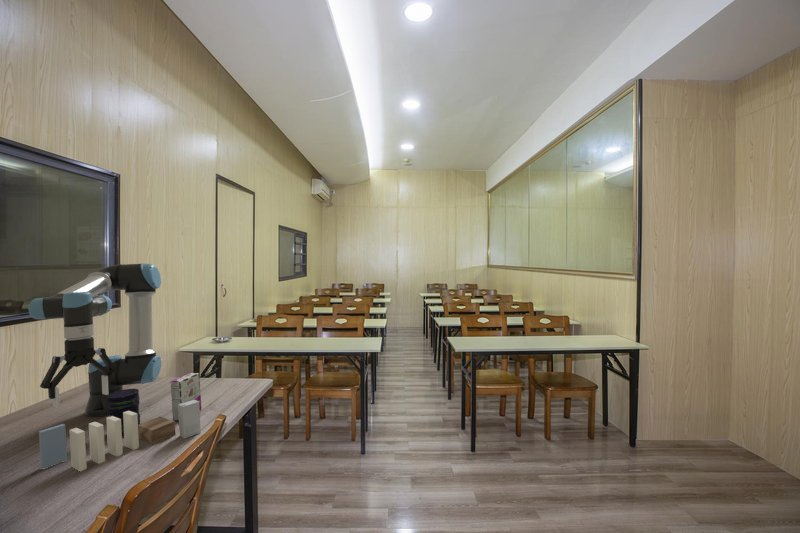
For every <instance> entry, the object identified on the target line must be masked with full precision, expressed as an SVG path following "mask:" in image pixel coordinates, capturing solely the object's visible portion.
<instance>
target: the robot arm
mask: <svg viewBox="0 0 800 533" xmlns="http://www.w3.org/2000/svg"><path fill="white" fill-rule="evenodd" d="M161 283H162V278H161V274H160V271H159V269H158V268H157V266H156V265H155V264H153V263H128V264H127V263H126V264H125V263H124V264H112V265H109V266H105V267H103V268H100V269H98V270H95V271H93V272H91V273H89V274H88V275H87V276H86V278H85V279H83V280H81V281H79V282H77V283H75V284H74V285H71V286H69V287H67V288H66V289H63V290H62V291H59V292H57V293H56V294H53V295H51V296H49V297H40V298H34V299H32V300H31V301H30V303H29V305H28V313H29V316H30V317H31V318H32V319H34V320H46V321H47V320H53V319H54V320H56V319H63V338H64V339H65V340H64V341H63V342H64V355H59V356H58V355H57V356H56V355H54V356H52V359H51V364H50V366H49V368H48V369H47V372H46V373H45V376H44V378H43V379H42V381H41V383H40V384H39V385H40V386H39V388H41V389H47V390H48V392H47V394H48V399H50V400H52V408H53V409H55V410H58V409H60V408H61V406H60V390H59V389H60V387H57V386H58V385H59V383H60V382H62V380H63V379H64V378H65V376H66V375H67V374H68V372H70V370H72V369H73V368H74V367H76V368H77V367H80V366H87V365H88V368H87V369H88V370H87V371H88V372H87V374H88V390H89V391H88V392H89V396H88V400H87V402H86V406H85V408H84V415H85V416H86V417H88V418H95V417H98V418H99V417H104V416H108V415H109V411H108V395H109V394H111V393H113V392H116V391H120V390H124V389H123V387H124V386H130V385H139V384H141V385H144V384H147V383H148V384H149V383H152V382H153V383H154V382H155V381H156V380H157V378H158V377H159V375H160V372H161V369H162V357H161V356H160V355H157V351H156V350H155V349H153V312H152V311H153V306H152V305H153V301H152V300H153V298H152V297H153V296H154V295H155V294H156V290H157V289H159V288H160V287H161ZM110 291H124V294H125V295H126V296H127V297H128V312H129V313H128V347H129V348H128V351H127V352H126V354H124V358H122V355H119V354H118V355H117V354H116V355H110V356H108V355H107V352H106V349H105V347H98V348H97V349H95V338H94V337H93V335H94V318H95V317H99V316H100V317H101V316H103V315H105V314H107V313H108V312H110V311H111V309H112V308H113V302H112V299H111V298H109V297H108V296H107V295H105V294H103V293H106V292H110ZM96 355H97V356H99V357H100V358H99V359H94V357H95V356H96ZM63 361H65V363H64V364H63V366H62V368H61V369H60V370H59V371H58V373H57V374H56V372H57V370H58V369H59V367H60V364H61V363H63ZM55 374H56V375H55Z"/></svg>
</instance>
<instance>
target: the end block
mask: <svg viewBox="0 0 800 533" xmlns="http://www.w3.org/2000/svg"><path fill="white" fill-rule="evenodd" d="M174 436H176V421H175V420H173V419H168V418H166V417H162V416H159V417H156V418H153V419H150V420H148V421H145V422H142V423H141V422H140V424H139V425H138V439H139V440H142V441H144V442H146V443H148V444H151V445H154V444H157V443H160V442H161V441H165V440H166V439H169V438H172V437H174Z"/></svg>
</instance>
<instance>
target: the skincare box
mask: <svg viewBox="0 0 800 533" xmlns="http://www.w3.org/2000/svg"><path fill="white" fill-rule="evenodd" d="M178 412H179V421H178V424H179V425H178V426H179V436H180V437H181V438H182V439H187V438H190V437H192V436H195V435H198V434H200V433H201V414H200V410H199V402H198V401H196V400H192V401H188V402H185V403H182V404H178Z"/></svg>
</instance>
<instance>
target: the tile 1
mask: <svg viewBox="0 0 800 533" xmlns="http://www.w3.org/2000/svg"><path fill="white" fill-rule="evenodd" d="M68 433H69V448H70V465H71V466H72V467H73V468H72V467H71V468H72V469H74V468H75V469H74V470H76V469H77V470H78V472H79V471H80V472H83V471H84V469H85V470H87V454H86V453H87V451H86V432H85V430H83V429H80V428H78V427H74V428H71V429H69V432H68ZM77 470H76V471H77ZM82 470H83V471H82Z"/></svg>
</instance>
